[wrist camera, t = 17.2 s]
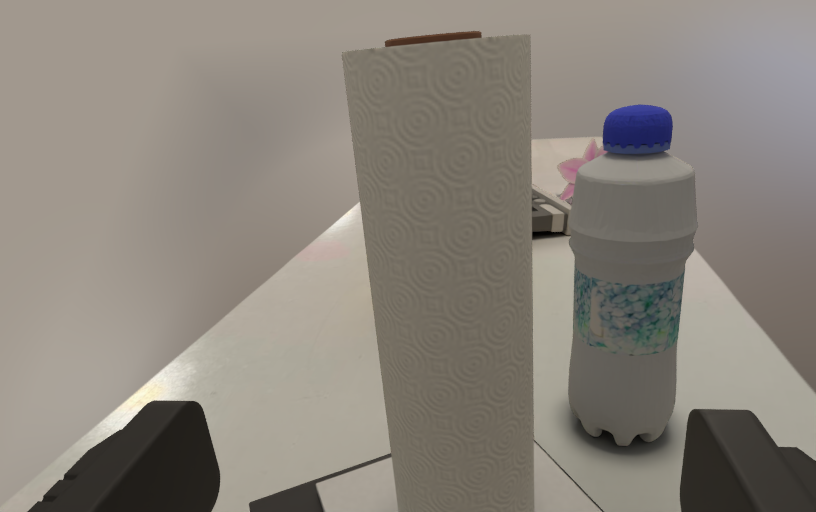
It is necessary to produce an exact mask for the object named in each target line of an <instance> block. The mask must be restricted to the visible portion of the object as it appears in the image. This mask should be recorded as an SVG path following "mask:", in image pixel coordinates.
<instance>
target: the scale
mask: <svg viewBox="0 0 816 512" xmlns="http://www.w3.org/2000/svg"><path fill="white" fill-rule="evenodd" d="M249 507H250V512H398V504H397V495H396V487H395V479H394V471H393V463H392V455H391V453H390V454H388V455H385V456H382V457H379V458H376V459H373V460H370V461H367V462H365V463H362V464H359V465H356V466H353V467H350V468H347V469H344V470H342V471H339V472H336V473H333V474H330V475H327V476H324V477H322V478H319V479H316V480H313V481H310V482H307V483H304V484H301V485H299V486H296V487H293V488H290V489H287V490H284V491H281V492H278V493H276V494H273V495H270V496H267V497H264V498H261V499H258V500H255V501H253V502H250V503H249ZM534 512H604V511H603V510H602V509H601V508H600V507H599V506H598V505H597V504H596V503H595V502H594V501H593V500H592V499H591V498H590V497H589V496H588V495H587V494H586V493H585V492H584V491H583V490H582V489H581V487H580V486H579V485H578V484H577V483H576V482H575V481H574V480H573V479H572V478H571V477H570V476H569V475H568V474H567V473H566V472H565V471H564V470H563V469H562V468H561V467H560V466H559V465H558V464H557V463H556V462H555V461H554V460H553V459H552V458H551V457H550V456H549V454H548V453H547V452H546V451H545V450H544V449H543V448H542V447H541V446H540V445H539V444H538V443H537V442H536V441H535V440H534Z"/></svg>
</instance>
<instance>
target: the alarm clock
mask: <svg viewBox="0 0 816 512" xmlns="http://www.w3.org/2000/svg"><path fill="white" fill-rule="evenodd" d="M570 211H571V205H570V204H568V203H566V202H565V201H563V200H561V199H559V198H557V197H555V196H554V195H552V194H550V193H548V192H546V191H544V190H543V189H541V188H539V187H537V186H535V185H533V184H532V232H536V231H551V232H563V233H564V234H566V235H571V233H570V228H569V224H568V220H569V216H570Z"/></svg>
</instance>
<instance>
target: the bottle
mask: <svg viewBox="0 0 816 512" xmlns="http://www.w3.org/2000/svg"><path fill="white" fill-rule="evenodd" d="M672 127H673V126H672V117H671V115H670V114H669V112H668V111H667V110H665V109H663V108H661V107H656V106H651V105H633V106H627V107H622V108H619V109H616V110H614V111H613V112H611V113H610V114H609V115H608V116H607V118H606V120H605V123H604V129H603V150H604V151H608V152H607V153H605V154H603V155H601V156H599V157H597V158H595V159H593V160H591V161H589V162H587V163H586V164H584V165H582V166H581V167H580V168H579V169H578V171H577V174H576V180H575V186H574V193H573V199H572V205H571V211H570V216H569V220H568V224H569V228H570V233H571V238H570V239H569V245H570V247H571V249H572V251H573V253H574V255H575V270H574V310H573V341H572V350H571V359H570V368H569V386H568V395H569V403H570V407H571V409H572V411H573V413H574V415H575V416H576V417H577V418H579V419H580V420H581V423H582V425H583V427H584V429H585V430H586V431H587V432H588V433H589V434H590V435H592V436H594V437H598V436H600V435H601V433H602V430H606V431H609V432H610V433H611V434H612V435H614V439H615V442H616V444H617V445H620V446H628V445H629V444H630V443H631V442H632V440H633V438H634V437H635V436H636V435H638V434H640V437H641V438H642V439H643V440H644V441H647V442H651V441H654V440H655V439H657V438H658V437H660V435H661V434H662V433H663V431H664V429H665V427H666V424H667V422H668V420H669V418H670V416H671V414H672V412H673V409H674V405H675V396H676V353H677V339H678V332H679V322H680V312H681V302H682V292H683V283H684V273H685V263H686V260H687V259H688V257H689V256H690V255H691V253H692V252H693V250H694V244H693V238H694V235H695V233H696V230H697V228H698V222H697V211H696V194H695V172H694V169H693V167H691V166H690V165H689V164H687V163H685V162H683V161H681V160H680V159H678V158H676V157H674V156H672V155H670V154H668V153H666V152H664V151H665V150H668V149H670V143H671V138H672Z"/></svg>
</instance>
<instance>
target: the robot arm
mask: <svg viewBox="0 0 816 512" xmlns="http://www.w3.org/2000/svg"><path fill="white" fill-rule="evenodd" d="M219 487H220V471H219V466H218V463H217V459H216V455H215V452H214V448H213V444H212V441H211V437H210V433H209V429H208V426H207V422H206V418H205V415H204V411H203V409H202V407H201V405H200V404H199V403H197V402H195V401H152V402H150V403H148V404H147V405H145V406H144V407H143V408H142V409H141V410H140V412H139V413H138V414H137V415H136V416H135V417H134V418H133V419H132V420H131V421H130V422H129V423H128V424H127V425H126V426H125V427H124V428H123V429H122V430H119V431H117V432H116V433H114V434H113V435H111V436H110V437H108V438H107V439H105V440H104V441H102V442H101V443H99V444H97V445H96V446H94V447H93V448H91V449H90V450H88V451H87V452H86V453H85V454H84V455H83V456H82V457H81V458H80V459H79V460H78V461H77V462H76V464H75V465H74V466H73V467H72V468H71V469H70V470H69V471H68V472H67V473H66V474H65V475H64V479H63V480H59V481H58V482H57V483H56V484H55V485H54V486H53V487H52V488H51V489H50V490H49V491H48V492H47V493H46V494H45V495H44V496H43V500H42V502H39V501H38V502H37V503H36V504H35V505H34V506H33V507H32V508H31V509H30V510H29V511H28V512H211V511H212V509H213V507H214V505H215V503H216V500H217V497H218V493H219ZM680 503H681V511H682V512H816V461H815V460H813V459H812V458H811V457H809V456H808V455H807V454H805V453H804V452H802V451H801V450H800V449H798V448H797V447H778V446H777V445H776V443H775V442H774V441H773V439H772V438H771V436H770V435H769V434H768V432H767V431H766V429H765V428H764V427H763V425H762V424H761V422H760V421H759V420H758V418H757V417H756V416H755V415H754V414H753V413H752V412H751V411H749V410H714V409H694V410H692V411H691V412H690V414H689V417H688V423H687V431H686V440H685V449H684V458H683V466H682V475H681V484H680Z"/></svg>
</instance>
